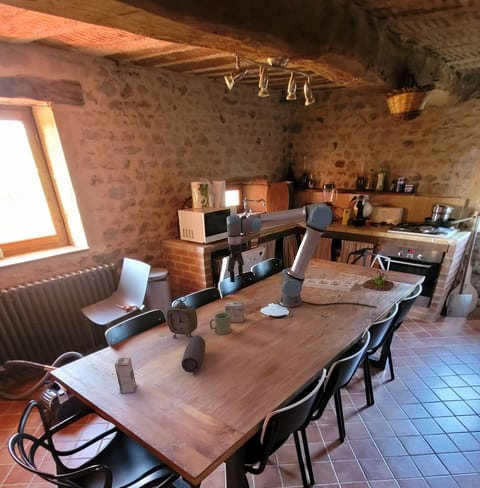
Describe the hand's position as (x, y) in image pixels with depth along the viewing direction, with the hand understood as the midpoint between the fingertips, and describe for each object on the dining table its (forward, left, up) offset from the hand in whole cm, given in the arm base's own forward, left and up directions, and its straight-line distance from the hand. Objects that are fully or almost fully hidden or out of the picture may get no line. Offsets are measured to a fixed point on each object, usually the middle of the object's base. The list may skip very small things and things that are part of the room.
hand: (236, 279), depth 222 cm
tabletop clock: (+16, +44, -22) cm, 51 cm away
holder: (-44, -66, -21) cm, 83 cm away
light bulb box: (-3, +15, -21) cm, 26 cm away
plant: (-83, -70, -21) cm, 111 cm away
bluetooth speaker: (-3, +70, -22) cm, 73 cm away
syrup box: (+15, +99, -22) cm, 102 cm away
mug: (-1, +32, -21) cm, 38 cm away
